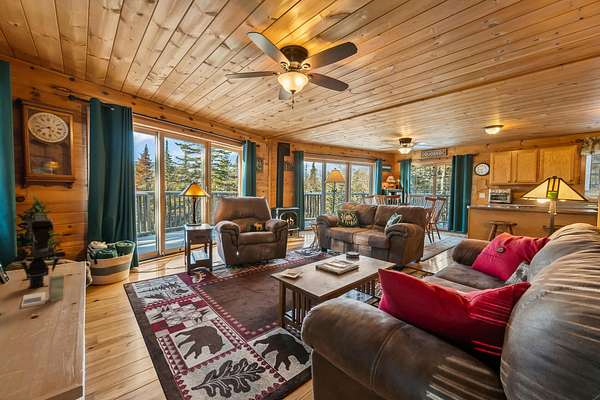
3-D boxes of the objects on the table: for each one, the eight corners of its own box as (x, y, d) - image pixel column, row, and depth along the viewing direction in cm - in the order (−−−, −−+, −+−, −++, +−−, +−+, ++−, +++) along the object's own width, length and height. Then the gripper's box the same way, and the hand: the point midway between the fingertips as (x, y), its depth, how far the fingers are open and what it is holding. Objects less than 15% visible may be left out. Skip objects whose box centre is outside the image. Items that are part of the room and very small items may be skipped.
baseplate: (23, 297, 131) (24, 295, 131) (45, 293, 136) (45, 291, 136) (21, 308, 119) (21, 305, 119) (44, 303, 125) (44, 300, 125)
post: (48, 299, 130) (49, 276, 130) (59, 296, 134) (60, 273, 134) (51, 301, 128) (52, 277, 128) (63, 298, 132) (63, 275, 132)
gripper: (14, 245, 118) (13, 278, 117) (67, 241, 133) (66, 270, 131) (14, 245, 126) (13, 276, 124) (64, 241, 140) (63, 269, 138)
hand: (40, 273), depth 129 cm, fingers open, 9 cm apart
